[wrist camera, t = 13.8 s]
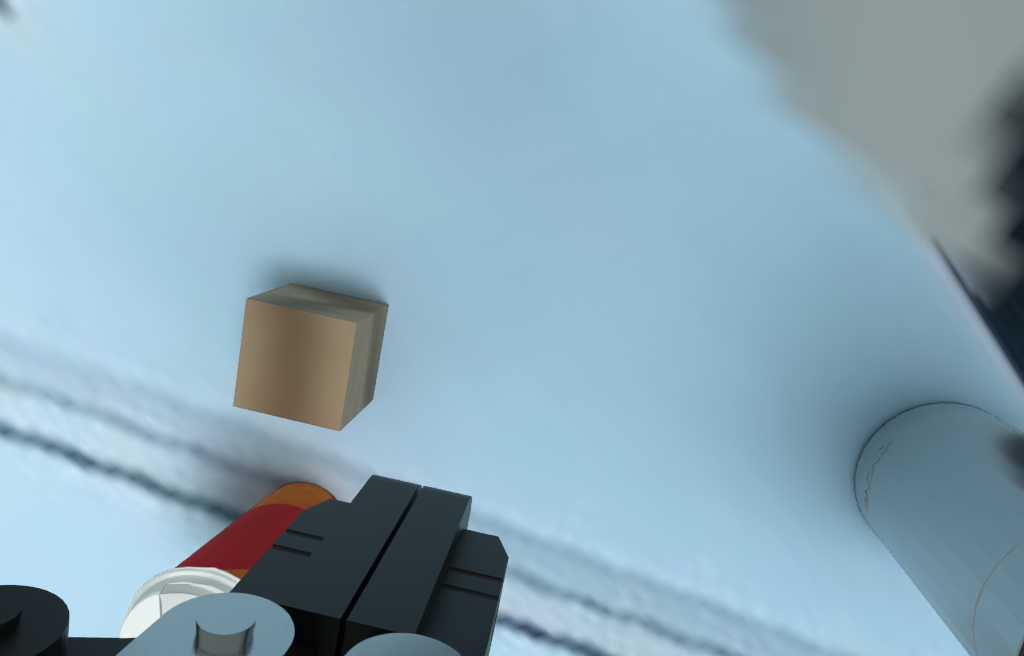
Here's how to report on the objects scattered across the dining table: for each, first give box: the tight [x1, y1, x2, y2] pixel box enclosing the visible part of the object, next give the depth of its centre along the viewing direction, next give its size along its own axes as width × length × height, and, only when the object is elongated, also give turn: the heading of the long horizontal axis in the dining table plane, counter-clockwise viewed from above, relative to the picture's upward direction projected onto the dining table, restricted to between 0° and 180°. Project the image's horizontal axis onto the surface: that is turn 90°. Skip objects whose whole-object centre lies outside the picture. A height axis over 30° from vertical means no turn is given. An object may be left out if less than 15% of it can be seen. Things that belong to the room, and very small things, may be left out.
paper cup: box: [119, 482, 336, 638], centre depth 41 cm, size 8×8×14 cm
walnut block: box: [233, 284, 388, 431], centre depth 43 cm, size 6×6×6 cm
